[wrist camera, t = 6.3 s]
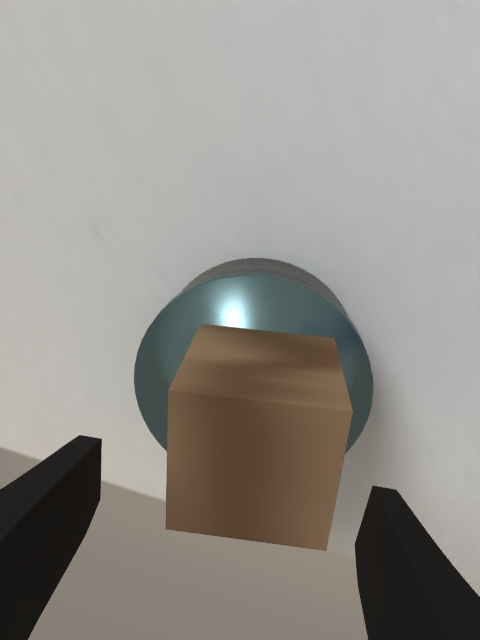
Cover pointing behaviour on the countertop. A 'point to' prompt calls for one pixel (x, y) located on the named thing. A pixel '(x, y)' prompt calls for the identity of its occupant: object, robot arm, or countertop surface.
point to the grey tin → (252, 313)
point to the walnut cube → (256, 436)
